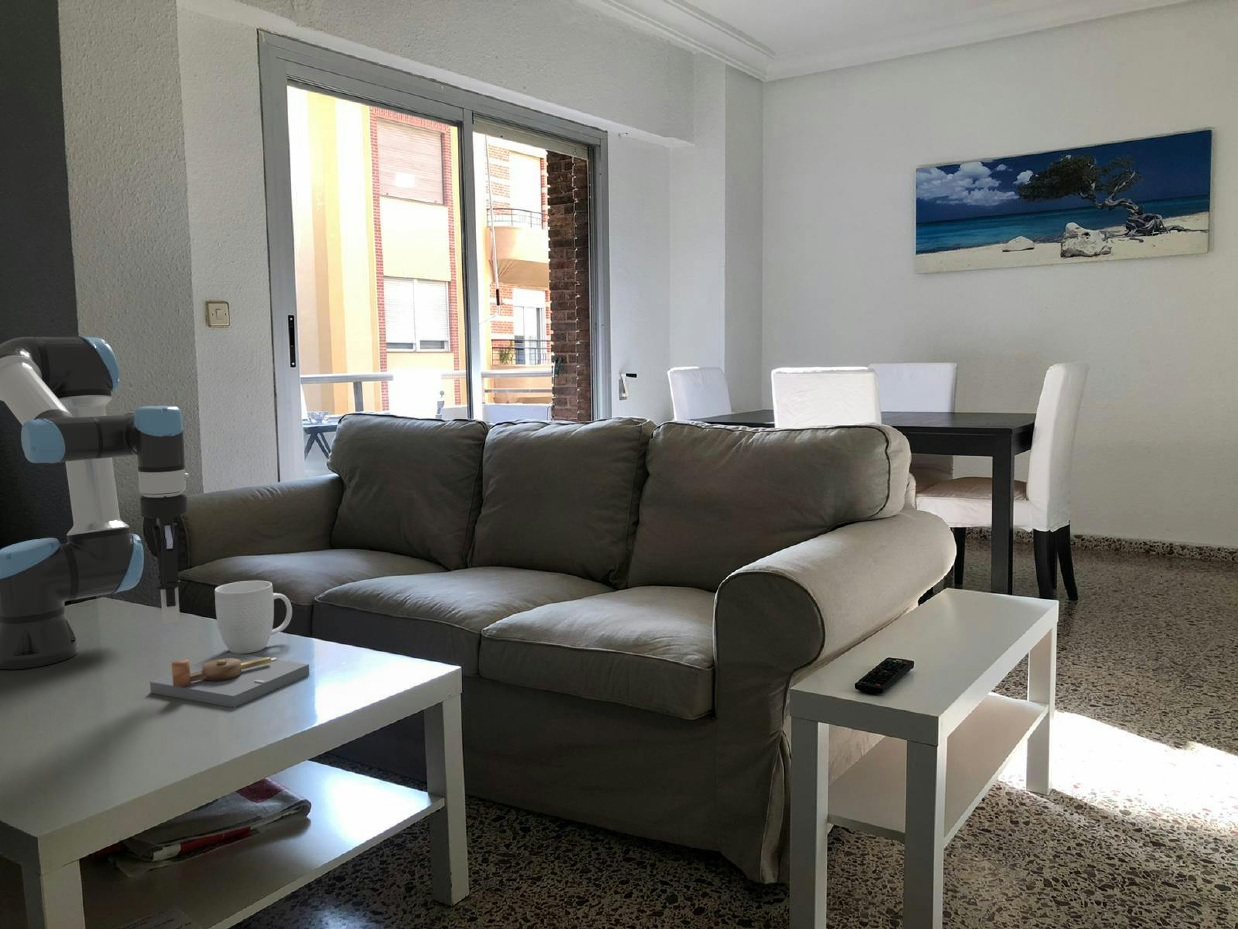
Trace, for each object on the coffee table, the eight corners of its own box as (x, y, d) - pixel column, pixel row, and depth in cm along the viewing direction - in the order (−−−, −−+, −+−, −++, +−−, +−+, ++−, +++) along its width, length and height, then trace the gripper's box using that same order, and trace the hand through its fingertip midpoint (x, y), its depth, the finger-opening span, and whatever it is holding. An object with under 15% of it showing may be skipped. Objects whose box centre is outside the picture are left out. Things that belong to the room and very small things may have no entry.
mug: (283, 634, 206) (280, 574, 205) (303, 645, 198) (299, 583, 196) (211, 648, 197) (207, 586, 195) (228, 661, 188) (224, 596, 187)
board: (150, 692, 171) (149, 680, 171) (230, 662, 187) (229, 651, 187) (234, 707, 163) (233, 694, 162) (309, 674, 179) (309, 662, 179)
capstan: (180, 690, 165) (178, 668, 164) (167, 682, 170) (165, 660, 169) (277, 667, 177) (276, 645, 176) (263, 659, 181) (261, 639, 181)
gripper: (190, 497, 167) (198, 628, 170) (182, 486, 178) (189, 610, 181) (142, 500, 163) (151, 635, 166) (137, 489, 174) (145, 616, 177)
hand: (171, 622), depth 174 cm, fingers closed
